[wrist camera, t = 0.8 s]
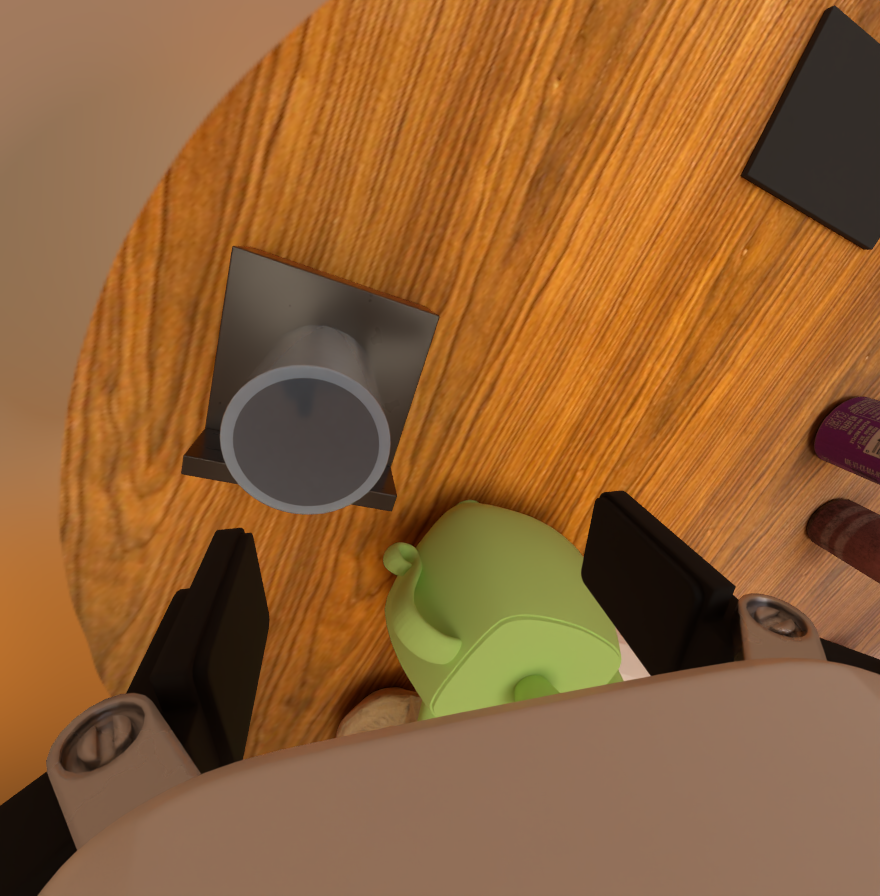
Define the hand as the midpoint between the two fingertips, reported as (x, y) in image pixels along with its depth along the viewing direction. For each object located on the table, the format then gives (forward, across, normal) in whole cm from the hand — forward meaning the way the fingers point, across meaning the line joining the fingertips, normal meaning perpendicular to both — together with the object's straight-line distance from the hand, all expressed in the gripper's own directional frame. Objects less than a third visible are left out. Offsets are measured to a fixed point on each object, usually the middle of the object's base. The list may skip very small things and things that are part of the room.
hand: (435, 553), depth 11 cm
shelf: (+22, +4, 0) cm, 23 cm away
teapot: (+23, -9, +23) cm, 33 cm away
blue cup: (+18, +4, 0) cm, 18 cm away
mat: (+23, -36, -15) cm, 45 cm away
